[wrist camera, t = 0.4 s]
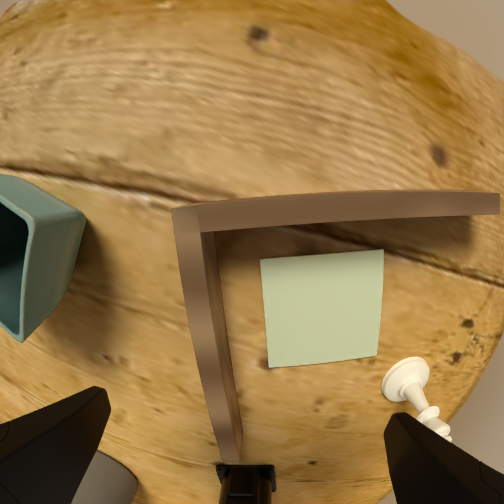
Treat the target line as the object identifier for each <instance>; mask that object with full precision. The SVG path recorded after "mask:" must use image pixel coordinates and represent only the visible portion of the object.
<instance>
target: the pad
mask: <svg viewBox="0 0 504 504" xmlns="http://www.w3.org/2000/svg"><path fill="white" fill-rule="evenodd" d="M260 266H261V278H262V290H263V301H264V313H265V325H266V338H267V350H268V362H269V368H273V367H287V366H299V365H310V364H319V363H328V362H336V361H344V360H351V359H358V358H364V357H370V356H376V355H377V347H378V339H379V329H380V319H381V306H382V291H383V269H384V249H377V250H365V251H353V252H340V253H328V254H315V255H303V256H290V257H277V258H264V259H260Z"/></svg>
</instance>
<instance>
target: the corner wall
mask: <svg viewBox="0 0 504 504" xmlns="http://www.w3.org/2000/svg"><path fill="white" fill-rule="evenodd" d="M171 210H172V218H173V227H174V234H175V242H176V249H177V256H178V262H179V269H180V275H181V282H182V288H183V293H184V299H185V305H186V310H187V316H188V321H189V326H190V331H191V336H192V341H193V346H194V351H195V356H196V360H197V365H198V369H199V374H200V378H201V382H202V387H203V391H204V395H205V399H206V403H207V407H208V411H209V415H210V418H211V422H212V426H213V430H214V433H215V437H216V440H217V444H218V447H219V451H220V454H221V458H222V461H223V462H240V455H241V446H242V437H243V429H242V424H241V418H240V412H239V407H238V401H237V395H236V389H235V383H234V376H233V370H232V364H231V357H230V351H229V344H228V337H227V330H226V323H225V316H224V309H223V302H222V294H221V286H220V279H219V271H218V263H217V254H216V246H215V237H214V231H222V230H233V229H245V228H257V227H269V226H282V225H296V224H309V223H324V222H339V221H355V220H373V219H391V218H412V217H434V216H462V215H498V214H500V193H491V192H482V191H471V190H371V191H343V192H323V193H306V194H291V195H277V196H264V197H252V198H241V199H231V200H221V201H211V202H202V203H194V204H187V205H184V206H180V207H176V208H172V209H171Z"/></svg>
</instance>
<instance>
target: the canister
mask: <svg viewBox="0 0 504 504" xmlns="http://www.w3.org/2000/svg"><path fill="white" fill-rule="evenodd" d="M137 485H138V483H137V481H136V479H135V477H134V476H133V474H132V473H131V472H130V471H129V470H128V469H126V468H125V467H124V466H123V465H121V464H120V463H119V462H117V461H115V460H114V459H112V458H111V457H109V456H107V455H105V454H103V453H101V452H99V451H96V453H95V455H94V457H93V459H92V461H91V463H90V465H89V467H88V469H87V471H86V473H85V475H84V477H83V479H82V481H81V483H80V486H79V488H78V490H77V492H76V494H75V496H74V498H73V500H72V503H71V504H132V502H133V499H134V496H135V493H136V490H137Z"/></svg>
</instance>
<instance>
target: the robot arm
mask: <svg viewBox="0 0 504 504" xmlns="http://www.w3.org/2000/svg"><path fill="white" fill-rule="evenodd" d="M110 413H111V406H110V402H109V399H108V395H107V391H106V390H105V389H104V388H101V387H97V386H92V387H90V388H88V389H85V390H83V391H81V392H79V393H76V394H74V395H72V396H69V397H67V398H65V399H63V400H60V401H58V402H55V403H53V404H51V405H48V406H46V407H43V408H41V409H39V410H36V411H34V412H31V413H29V414H26V415H24V416H21V417H19V418H16V419H13V420H11V422H10V421H8V422H5V423H3V424H0V504H71V503H72V500H73V498H74V496H75V494H76V492H77V490H78V488H79V486H80V483H81V481H82V479H83V477H84V475H85V473H86V471H87V469H88V467H89V465H90V463H91V461H92V459H93V457H94V455H95V453H96V451H97V448H98V446H99V443H100V441H101V438H102V435H103V432H104V429H105V427H106V424H107V421H108V418H109V416H110ZM384 440H385V447H386V453H387V460H388V467H389V473H390V477H391V481H392V485H393V489H394V493H395V497H396V501H397V504H504V474H502V473H500V472H498V471H496V470H494V469H493V468H491V467H489V466H487V465H486V464H484V463H483V462H481V461H479V460H478V459H476V458H474V457H473V456H471V455H470V454H468V453H466V452H465V451H463V450H462V449H460V448H459V447H457V446H456V445H454V444H452V443H451V442H449V441H448V440H446V439H445V438H443V437H442V436H440V435H439V434H437V433H436V432H434V431H433V430H431V429H430V428H428V427H427V426H425V425H424V424H422V423H421V422H419V421H418V420H416V419H415V418H413V417H412V416H411V415H409V414H408V413H406V412H398V413H394V414H393V415H392V416H391V418H390V420H389V422H388V424H387V426H386V428H385V431H384ZM216 471H217V474H218V477H219V480H220V483H221V485H222V486H221V493H220V499H219V504H271V493H272V492H275V491H276V483H275V471H274V466H273V465H216Z"/></svg>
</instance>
